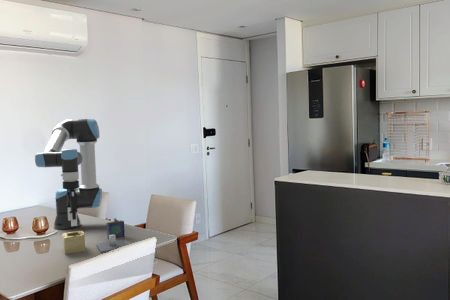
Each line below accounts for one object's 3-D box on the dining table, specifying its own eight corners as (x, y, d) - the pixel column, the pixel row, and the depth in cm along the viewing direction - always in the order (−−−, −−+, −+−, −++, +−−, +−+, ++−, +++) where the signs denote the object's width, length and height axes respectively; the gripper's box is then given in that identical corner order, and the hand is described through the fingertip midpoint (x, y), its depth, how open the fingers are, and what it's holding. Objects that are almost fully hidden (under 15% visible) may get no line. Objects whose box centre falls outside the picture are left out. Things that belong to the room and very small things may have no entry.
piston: (96, 245, 214) (95, 233, 213) (123, 241, 220) (122, 230, 219) (101, 253, 201) (100, 241, 201) (129, 248, 207) (129, 236, 207)
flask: (107, 239, 224) (106, 219, 223) (107, 237, 227) (106, 218, 226) (124, 237, 227) (124, 218, 226) (124, 236, 230) (123, 217, 229)
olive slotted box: (62, 248, 209) (62, 233, 209) (82, 245, 213) (81, 230, 213) (64, 254, 201) (64, 237, 200) (85, 251, 205) (84, 235, 204)
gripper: (60, 178, 214) (62, 218, 215) (65, 184, 191) (67, 229, 193) (75, 176, 217) (77, 217, 218) (82, 182, 195) (84, 227, 196)
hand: (72, 223), depth 206 cm, fingers open, 13 cm apart
